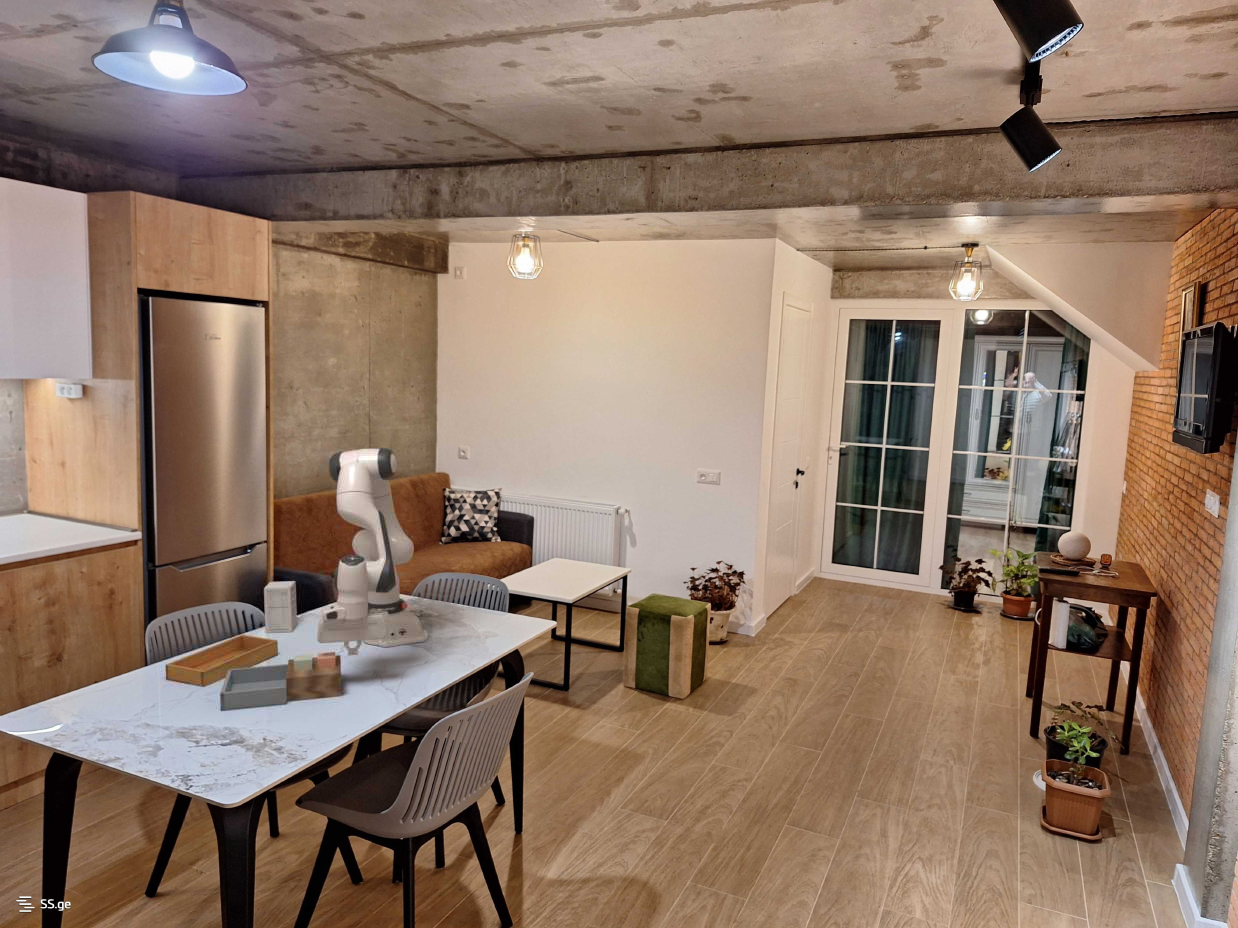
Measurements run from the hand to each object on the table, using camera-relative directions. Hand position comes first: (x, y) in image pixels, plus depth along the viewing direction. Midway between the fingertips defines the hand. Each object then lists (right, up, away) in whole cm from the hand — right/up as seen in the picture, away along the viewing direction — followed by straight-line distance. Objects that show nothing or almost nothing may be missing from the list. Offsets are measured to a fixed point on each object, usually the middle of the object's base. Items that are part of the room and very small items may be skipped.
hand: (352, 654), depth 252 cm
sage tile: (-13, -3, -4) cm, 14 cm away
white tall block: (-43, -3, +54) cm, 69 cm away
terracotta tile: (-7, -3, -2) cm, 8 cm away
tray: (-45, -8, +14) cm, 48 cm away
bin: (-26, -10, -8) cm, 29 cm away
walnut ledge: (-11, -10, -2) cm, 15 cm away
